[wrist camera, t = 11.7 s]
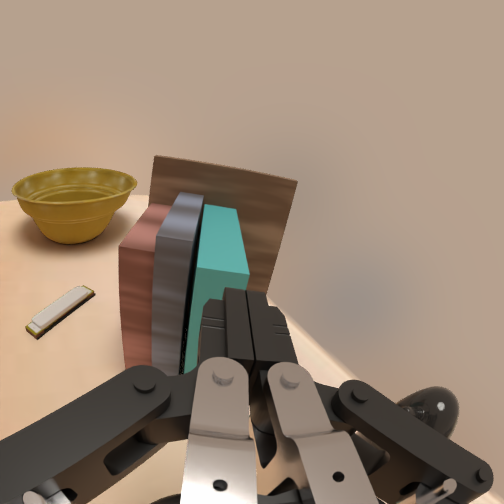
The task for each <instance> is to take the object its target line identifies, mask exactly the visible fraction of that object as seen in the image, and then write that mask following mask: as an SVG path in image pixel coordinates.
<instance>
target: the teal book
mask: <svg viewBox="0 0 504 504" xmlns="http://www.w3.org/2000/svg"><path fill="white" fill-rule="evenodd" d="M249 275H250V273H249V269H248V264H247V259H246V254H245V250H244V245H243V240H242V235H241V230H240V225H239V221H238V216H237V211H236V209H232V208H226V207H220V206H214V205H207V204H205V205H204V211H203V217H202V223H201V229H200V236H199V242H198V249H197V256H196V263H195V270H194V277H193V284H192V292H191V300H190V308H189V317H188V325H187V336H186V347H185V359H184V373H183V374H185V373H188V372H190V371H191V370H193V369H194V368H195V367H196V366H197V352H198V338H199V331H200V324H201V318H202V311H203V306H204V305H205V303H206V302H207V301H208V300H209V299H210V298H211V299H218V300H222V297H223V292H224V288H225V287H229V288H236V289H243V290H246V287H247V283H248V279H249Z"/></svg>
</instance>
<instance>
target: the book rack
mask: <svg viewBox="0 0 504 504" xmlns="http://www.w3.org/2000/svg"><path fill="white" fill-rule="evenodd" d="M296 186H297V181H296V180H293V179H289V178H285V177H279V176H275V175H270V174H266V173H261V172H256V171H251V170H246V169H241V168H236V167H230V166H225V165H219V164H213V163H206V162H201V161H194V160H187V159H180V158H174V157H167V156H158V155H156V156H154V163H153V171H152V178H151V186H150V195H149V204H148V208H147V209H146V211H145V212H144V213H143V214H142V216H141V217H140V218H139V220H138V221H137V222H136V224H135V225H134V226H133V227H132V229H131V230H130V231H129V233H128V234H127V235H126V237H125V238H124V240H123V241H122V242H121V244H120V245H119V299H120V317H121V330H122V341H123V351H124V360H125V368H126V369H128V368H130V367H133V366H137V365H148V366H153V367H155V368H158V369H159V370H161V371H162V372H164V373H165V374H166V375H167V376H176V375H180V366H181V358H182V350H183V342H184V334H185V327H186V326H187V325H188V317H189V308H190V300H191V292H192V284H193V277H194V270H195V263H196V256H197V249H198V242H199V236H200V229H201V223H202V217H203V211H204V205H205V204H207V205H214V206H220V207H226V208H232V209H236V211H237V216H238V221H239V225H240V230H241V235H242V240H243V245H244V250H245V254H246V259H247V264H248V269H249V273H250V275H249V279H248V283H247V287H246V290H251V291H259V292H265V294H267V290H268V287H269V283H270V280H271V276H272V273H273V270H274V266H275V262H276V259H277V255H278V252H279V248H280V245H281V241H282V237H283V234H284V230H285V227H286V223H287V219H288V216H289V212H290V209H291V205H292V201H293V197H294V194H295V190H296Z"/></svg>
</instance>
